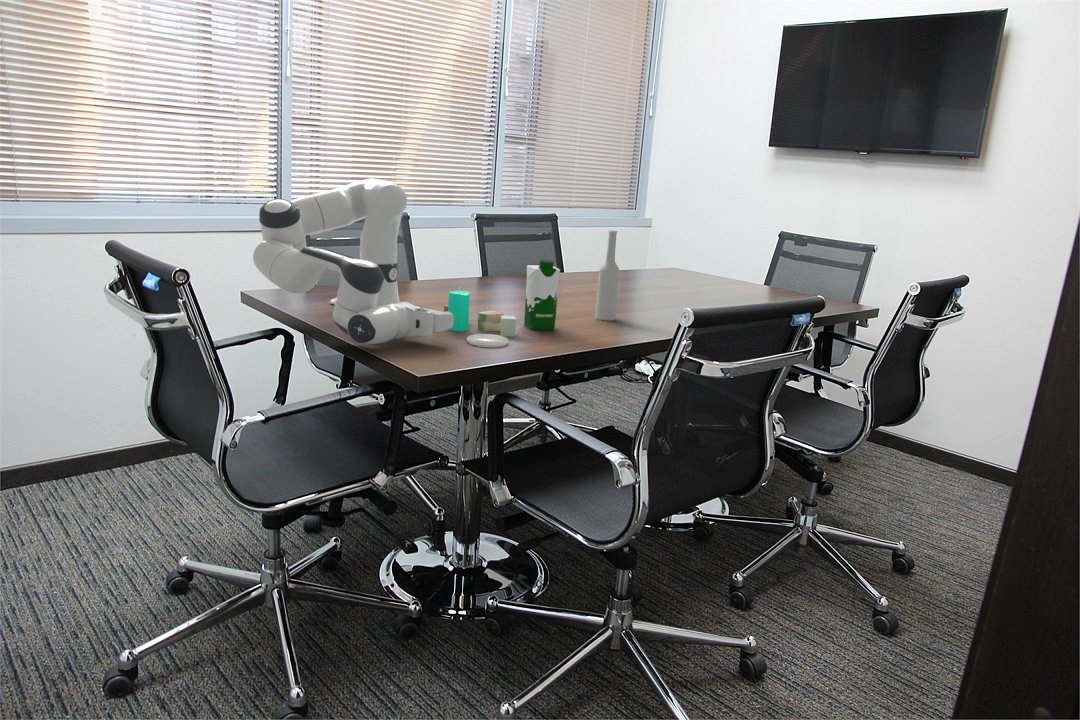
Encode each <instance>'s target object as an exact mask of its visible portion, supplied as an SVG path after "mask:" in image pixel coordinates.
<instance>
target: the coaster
mask: <svg viewBox="0 0 1080 720" xmlns="http://www.w3.org/2000/svg"><path fill="white" fill-rule="evenodd" d="M466 343H467V344H468V343H469V345H471V346H474V347H480V348H493V349H494V348H503V347H506V346H508V344H509V338H508V337H507V336H501V335H500V334H499V335H497V334H491V333H490V334H489V333H488V334H487V333H479V334H478V333H477V334H470V335H468V336H467V337H466Z"/></svg>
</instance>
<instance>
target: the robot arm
mask: <svg viewBox="0 0 1080 720" xmlns="http://www.w3.org/2000/svg"><path fill="white" fill-rule="evenodd" d="M406 194H407V193H406V192H405V190H404V189H403V188H402V187H401V186H400V185H399V184H398V183H396V182H394V181H392V180H391V181H390V180H387V179H380V178H379V179H378V178H374V177H373V178H366V179H362V180H359V181H355V182H352V183H348V184H346V185H343V186H341V187H338V188H334V189H329V190H326V191H322V192H317V193H313V194H309V195H305V196H302V197H298V198H296V199H293V200H291V201H290V200H288V199H285V198H276V199H271V200H268V201H266V202H265V203H264V204H263V205H262V206H261V207H260V209H259V215H258V217H259V223H260V226H261V227H260V231H261V235H262V242H260V243H259V244H258V245H257V246H256V247H255V249H254V251H253V253H252V255H253V256H252V262H253V265H254V266H255V268H256V269H257V270H258V271H259V272H260V274H261V275H262V276H263V277H264V278H266V280H268V281H269V282H270V283H272V284H273V285H275V286H276V287H278V288H279V289H281V291H282V290H283V291H284V292H287V293H288V294H289V293H290V294H295V295H298V294H304V293H306V292H308V291H310V290H312V289H313V288H314V287H315V286H316V285H317V283H318V282H319V281H320V279H321V277H322V275H323V273H324V271H325V270H326V269H328V270H331V271H332V270H333V271H334V272H338V273H339V276H340V278H339V279H340V280H339V286H338V290H337V296H336V297H334V298H332V299H330V301H329V304H331V305H334V307H333V312H332V320H333V322H334V324H335V325H336V326H337V327H338V329H340V330H341V332H343V333H344V334H345V335H347V336H349V337H350V338H351V339H352V340H353V341H354V342H356V343H358V344H362V345H377V344H382V343H383V344H384V343H387V342H389V341H392V340H397V339H401V338H410V337H420V338H430V337H431V336H433V334H438V333H442V332H445V331H447V330H449V329H451V328H452V327H453V324H454V316H453V314H452V313H451V312H447V311H445V312H444V311H440V310H435V309H429V308H425V307H423V306H419V305H414V304H412V303H410V302H409V301H400V297H399V290H398V275H399V263H398V261H397V259H398V236H399V231H400V226H401V220H402V216H403V213H404V212H405V210H406V208H407V205H408V197H407V195H406ZM363 219H364V223H363V228H362V231H361V234H360V236H359V237H360V238H359V239H360V242H359V244H360V245H359V258H357V257H354V256H350V255H347V254H345V253H341V252H339V251H338V252H337V251H334V250H330V249H327V248H323V247H320V246H307V239H306V236H311V235H315V234H317V235H318V234H321V233H324V232H328V231H332V230H336V229H340V228H343V227H344V228H345V227H348V226H350V225H351V224H354V223H356V222H358V221H360V220H363Z"/></svg>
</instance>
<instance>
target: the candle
mask: <svg viewBox="0 0 1080 720" xmlns="http://www.w3.org/2000/svg"><path fill="white" fill-rule="evenodd" d="M470 299H471V293H470V292H469V291H464V290H461V287H460V286H459V290H456V291H455V290H454V291H448V303H447V305H448V312H451V313H452V314H453V316H454V324H453V327H452V328H451V329H448V330H449V331H451V332H452V331H453V332H467V331H469V324H470V323H469V321H470V318H469V317H470V305H471V304H470V301H471V300H470Z"/></svg>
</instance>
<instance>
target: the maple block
mask: <svg viewBox="0 0 1080 720" xmlns="http://www.w3.org/2000/svg"><path fill="white" fill-rule="evenodd" d="M501 316H504V312H500V311H497V310H489V311H487V310H485V311H478V313H477V328H476V329H477V330H478V331H481V330H482V332H484V331H485V333H490V332H497V331H498V332H500V321H501Z"/></svg>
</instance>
